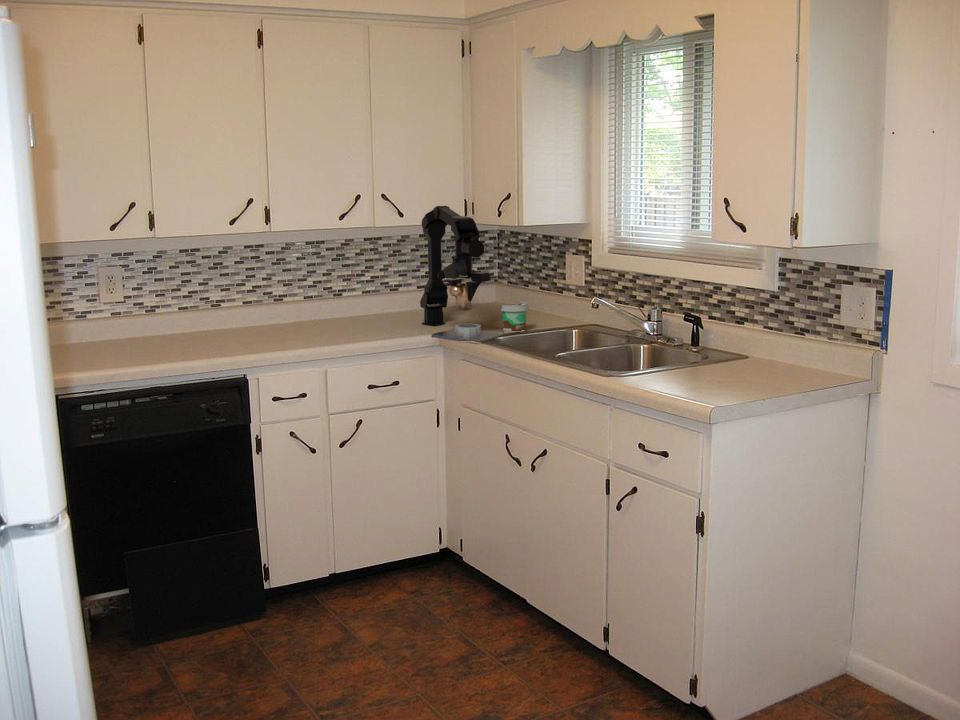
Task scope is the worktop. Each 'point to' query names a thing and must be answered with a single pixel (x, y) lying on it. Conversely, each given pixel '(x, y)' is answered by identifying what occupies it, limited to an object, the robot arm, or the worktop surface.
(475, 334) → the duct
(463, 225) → the robot arm
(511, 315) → the food container
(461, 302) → the elbow
